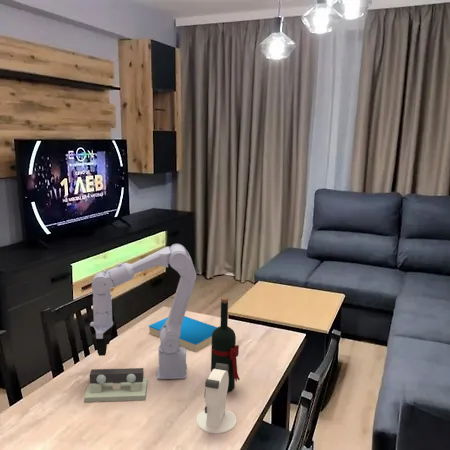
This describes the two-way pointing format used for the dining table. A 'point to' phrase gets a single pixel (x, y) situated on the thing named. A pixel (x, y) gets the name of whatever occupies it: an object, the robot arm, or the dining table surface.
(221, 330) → the wine bottle
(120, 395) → the stand
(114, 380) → the bar
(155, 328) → the book
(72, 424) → the dining table surface
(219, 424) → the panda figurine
